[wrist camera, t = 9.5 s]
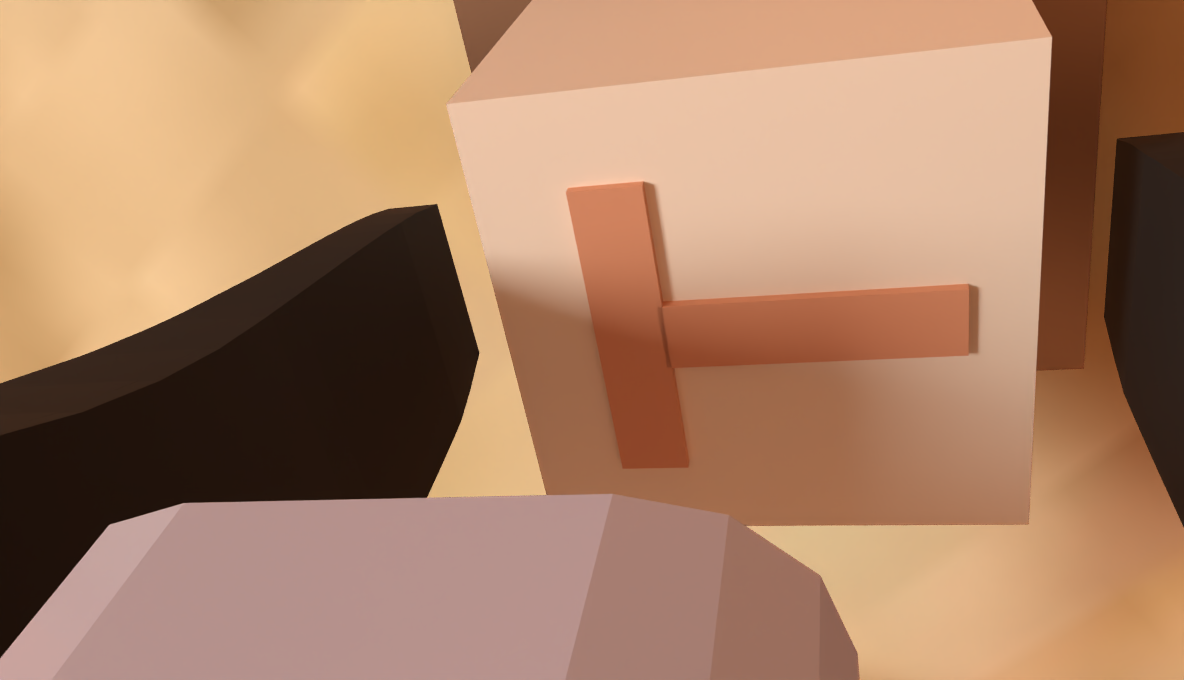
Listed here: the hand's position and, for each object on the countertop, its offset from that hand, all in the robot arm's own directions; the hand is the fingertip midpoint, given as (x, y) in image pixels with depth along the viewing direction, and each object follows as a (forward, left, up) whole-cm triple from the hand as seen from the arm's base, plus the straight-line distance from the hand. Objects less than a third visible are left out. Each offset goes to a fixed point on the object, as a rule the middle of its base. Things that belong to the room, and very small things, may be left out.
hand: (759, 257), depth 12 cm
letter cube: (0, 0, -3) cm, 3 cm away
